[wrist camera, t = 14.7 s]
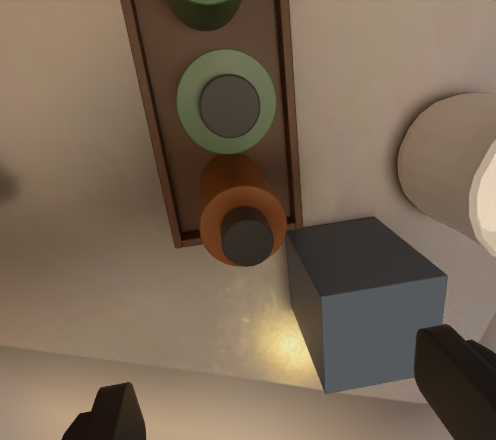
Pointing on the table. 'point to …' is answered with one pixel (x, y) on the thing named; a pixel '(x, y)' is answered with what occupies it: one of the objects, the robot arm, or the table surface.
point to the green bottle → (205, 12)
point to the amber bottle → (239, 212)
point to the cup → (454, 165)
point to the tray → (165, 112)
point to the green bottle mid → (226, 101)
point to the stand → (361, 301)
